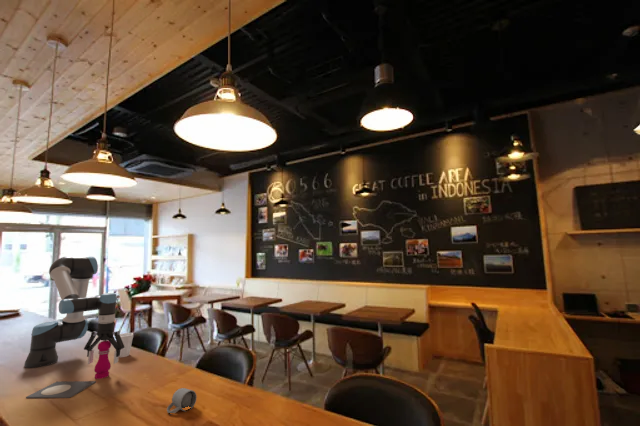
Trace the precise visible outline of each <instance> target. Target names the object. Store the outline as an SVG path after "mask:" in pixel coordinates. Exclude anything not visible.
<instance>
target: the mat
mask: <svg viewBox="0 0 640 426" xmlns="http://www.w3.org/2000/svg"><path fill="white" fill-rule="evenodd" d="M96 383H97V381H96V380H95V381H91V380H85V381H84V380H81V381H78V380H76V381H70V380H68V381H67V380H66V381H65V380H64V381H55V382H53V383H51V384H49V385H47V386H45V387H43V388H40V389H39V390H37V391H35V392H33V393H32V394H31V393H30V394H29V395H27V396H25V399H71V398H72V397H75V396H76V395H77V394H79V393H81V392H83V391H84V390H86V389H87V388H90V386H92V385H94V384H96ZM70 397H71V398H70Z"/></svg>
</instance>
